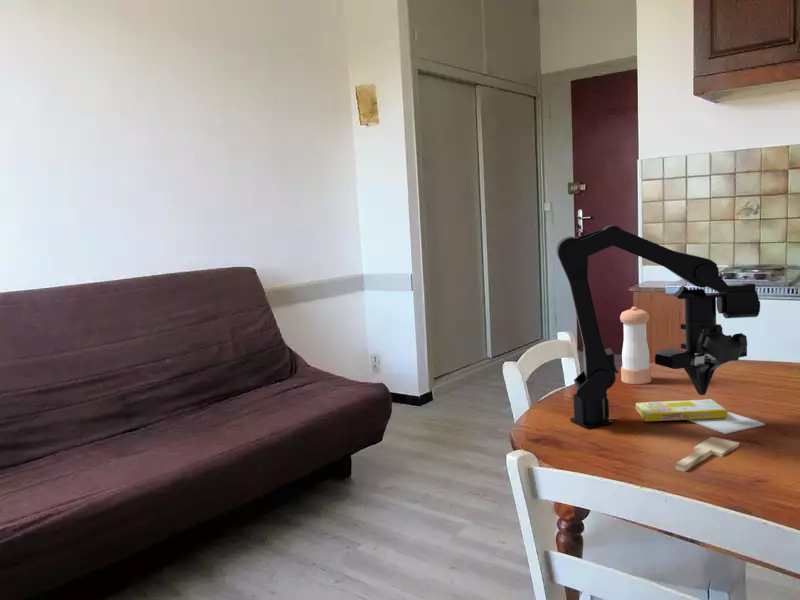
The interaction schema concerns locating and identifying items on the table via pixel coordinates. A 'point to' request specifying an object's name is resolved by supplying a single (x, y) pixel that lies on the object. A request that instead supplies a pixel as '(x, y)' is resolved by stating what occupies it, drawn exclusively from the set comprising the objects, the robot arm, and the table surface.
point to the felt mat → (728, 423)
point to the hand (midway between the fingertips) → (701, 394)
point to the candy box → (680, 410)
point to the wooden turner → (706, 452)
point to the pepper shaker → (635, 347)
